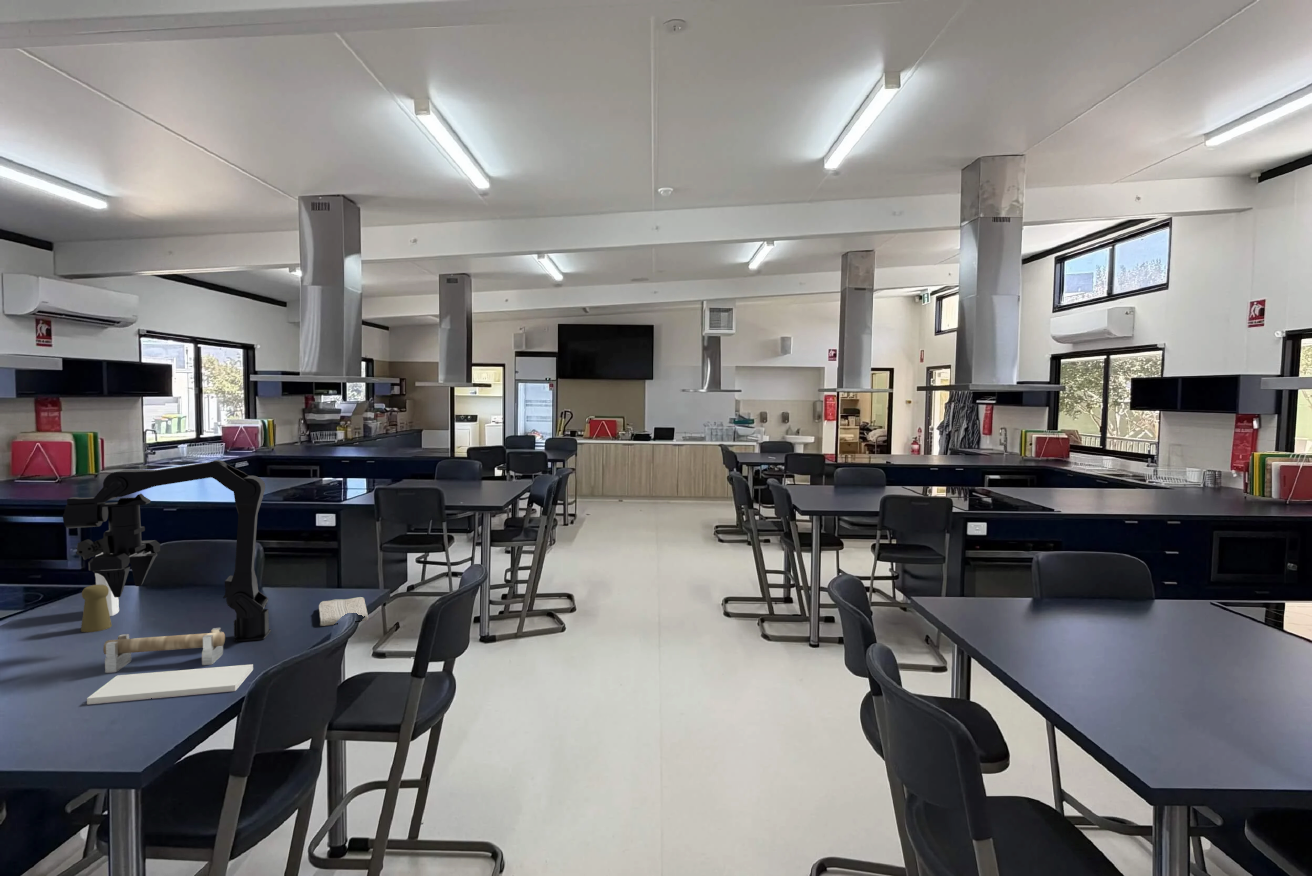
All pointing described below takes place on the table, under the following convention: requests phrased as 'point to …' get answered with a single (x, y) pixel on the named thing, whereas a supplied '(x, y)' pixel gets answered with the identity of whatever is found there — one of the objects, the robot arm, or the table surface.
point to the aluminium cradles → (120, 660)
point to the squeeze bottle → (111, 600)
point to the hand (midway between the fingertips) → (128, 591)
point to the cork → (95, 609)
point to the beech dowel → (165, 643)
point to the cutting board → (171, 684)
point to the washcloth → (341, 610)
